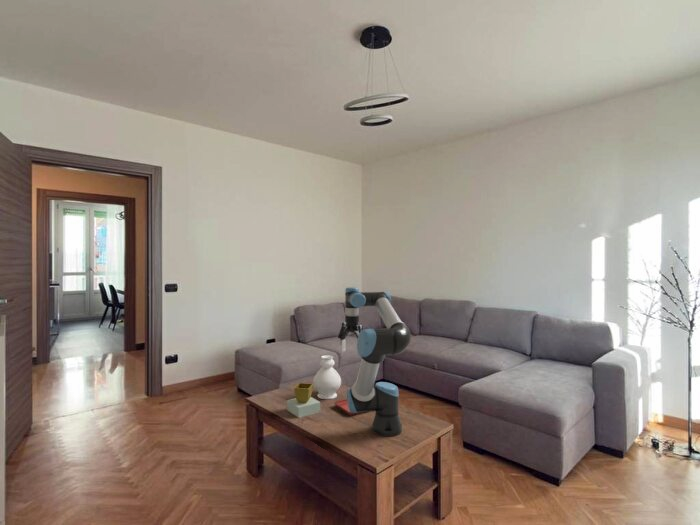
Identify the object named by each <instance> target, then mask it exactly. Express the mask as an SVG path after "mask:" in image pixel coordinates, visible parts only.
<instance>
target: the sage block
mask: <svg viewBox="0 0 700 525" xmlns="http://www.w3.org/2000/svg"><path fill="white" fill-rule="evenodd" d="M286 410H287V412H289V413H291V414H292V415H294V416H295V417H297V418H304V417H307V416H311V415H314V414H317V413H321V401H319V400H317V399H316V398H313V396H311V397H310V399H309V400H308V402H307V403H302V402H298V401H297V400H296V397H294V398H291V399H287V400H286Z"/></svg>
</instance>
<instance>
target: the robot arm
mask: <svg viewBox="0 0 700 525" xmlns="http://www.w3.org/2000/svg"><path fill="white" fill-rule="evenodd" d="M344 292H345V293H344V295H345V301H344V302H345V303H344V304H345V308H344V310H345V312H344V314H345V317H344V318H345V319H344V320H345V321H344V322H342V323H341V327H340V329H339V330H340V331H339V334H338V336H337V338H338V339H339V340H340V347H341V348H340V349H341V353H344V352H346V351H347V349H346V346H347V344H346V337H347V336H348V335H349V333H350V332H351V333H353V334H354V335H355V337H356V338H357V343H356V350H357V353H358V354H357V355H358V356H359V357H360V359H361V360H360V364H359V369H358V373H357V378H356V381H355V382H354V383H353V384H352V386H351V387H350V388H349V387H348V388H347V389H346V399H347V402H348V407H349V410H350V412H351V413H359V414H362V413H361V412H363V413H370V412H375V414H374V417H373V421H372V424H371V426H372V427H371V430H372V432H373V433H374V434H376V435H379V436H382V437H394V436H398V435H400V434H401V433H402V431H403V425H402V423H401V419H400V416H399V399H400V398H399V397H400V394H399V388H398V386H397V385H395V384H393V383H391V382H387V381H379V382H376V378H377V375H378V373H379V367H380V364H381V363H382V362H383V361H384V360H385V358H386V356H394V355H395V356H396V355H399V354H401V353H403V352H405V350H407V348H408V347H409V346H410V342H411V338H412V336H411V330H410V329H409V326H407V324H406V323H405V322H403V321H402V320H401V318H400V316H399V315H398V314H397V312H396V310H395V309H394V307H393V306H392V296H391V294H390V292H388V291H365V292H363V291H362V292H360V289H359V287H355V286H352V287H351V286H349V287H346V288H345V290H344ZM362 307H375V308H376V311H378V314H379V316H380V318H381V319H382V321H383V323H384V325H385V327H386V328H384V327H383V328H367V329H366V328H365V329H363V324H359V322H360V319H359V318H360V316H359V314H360V310H359V309H360V308H362Z"/></svg>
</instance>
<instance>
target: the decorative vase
mask: <svg viewBox="0 0 700 525" xmlns="http://www.w3.org/2000/svg"><path fill="white" fill-rule="evenodd" d="M320 356H321V355H320ZM333 358H334V356H333V355H330V354H326V355H322V356H321V360H320V361H319V365H320V368H319V370H318V371H317V372H316V373H315V375H314V377H313V381H312V384H313V387H314V388H315V390H317V392H318V393H317V396H316V397H317V398H319V399H320V400H321V399H322V400H333V399H336V398H337V397H338V394H337V391H338V390H339V388H340V387H341V385H342V377H341V376H340V374H339V372H338V371H337V370H336V369H335V368H334V366H335V363H336V362H335V360H334V359H333Z"/></svg>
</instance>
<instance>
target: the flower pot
mask: <svg viewBox="0 0 700 525" xmlns="http://www.w3.org/2000/svg"><path fill="white" fill-rule="evenodd" d="M313 387H314V384H313V383H306V382H298V383H297V384H296V385H295V386H294V387H293V391H294V396H295V397H294V398H296V400H297V401H298V402H302V403H307V402H308V400H309V399H310V397H312V393H313Z"/></svg>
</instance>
